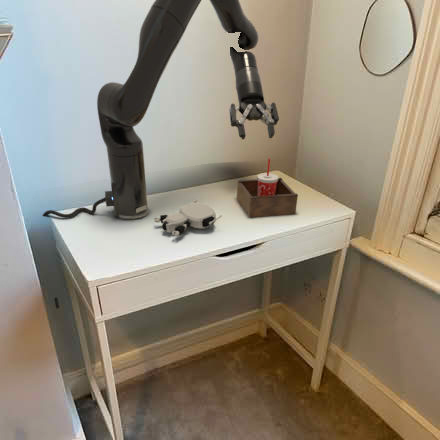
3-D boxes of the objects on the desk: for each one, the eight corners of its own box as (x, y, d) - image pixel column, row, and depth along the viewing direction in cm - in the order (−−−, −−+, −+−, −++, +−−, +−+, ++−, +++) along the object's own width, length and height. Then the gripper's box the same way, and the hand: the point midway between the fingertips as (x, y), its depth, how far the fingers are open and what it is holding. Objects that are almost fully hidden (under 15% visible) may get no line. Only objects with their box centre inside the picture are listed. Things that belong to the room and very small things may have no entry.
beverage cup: (251, 203, 130) (255, 156, 122) (270, 201, 132) (274, 154, 124) (259, 211, 126) (263, 163, 118) (278, 209, 127) (283, 161, 119)
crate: (249, 217, 122) (250, 198, 119) (236, 198, 133) (237, 180, 130) (295, 214, 125) (298, 194, 121) (279, 195, 136) (281, 177, 132)
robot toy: (176, 246, 109) (224, 228, 115) (174, 230, 106) (223, 212, 113) (152, 228, 117) (198, 211, 124) (150, 213, 114) (197, 197, 121)
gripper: (228, 79, 125) (237, 131, 122) (275, 79, 128) (284, 129, 125) (223, 96, 132) (231, 145, 130) (268, 95, 135) (276, 143, 133)
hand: (257, 137), depth 128 cm, fingers open, 8 cm apart
